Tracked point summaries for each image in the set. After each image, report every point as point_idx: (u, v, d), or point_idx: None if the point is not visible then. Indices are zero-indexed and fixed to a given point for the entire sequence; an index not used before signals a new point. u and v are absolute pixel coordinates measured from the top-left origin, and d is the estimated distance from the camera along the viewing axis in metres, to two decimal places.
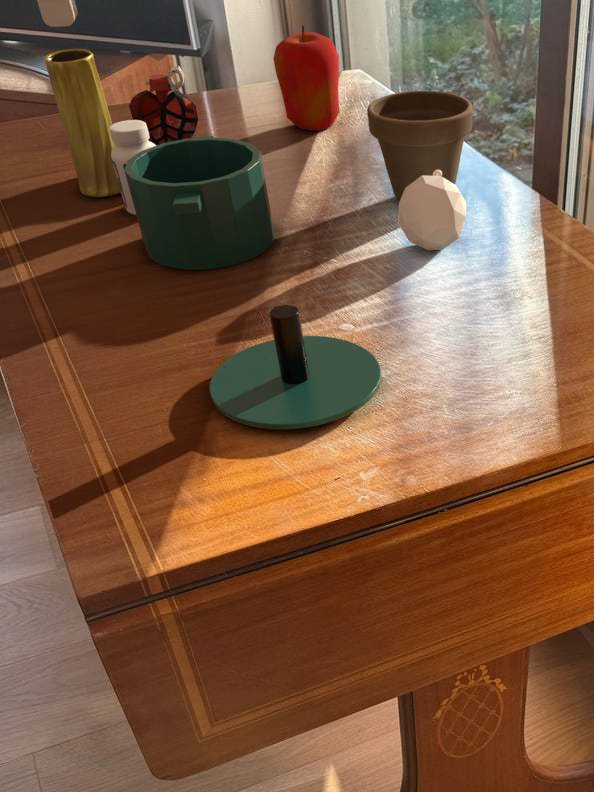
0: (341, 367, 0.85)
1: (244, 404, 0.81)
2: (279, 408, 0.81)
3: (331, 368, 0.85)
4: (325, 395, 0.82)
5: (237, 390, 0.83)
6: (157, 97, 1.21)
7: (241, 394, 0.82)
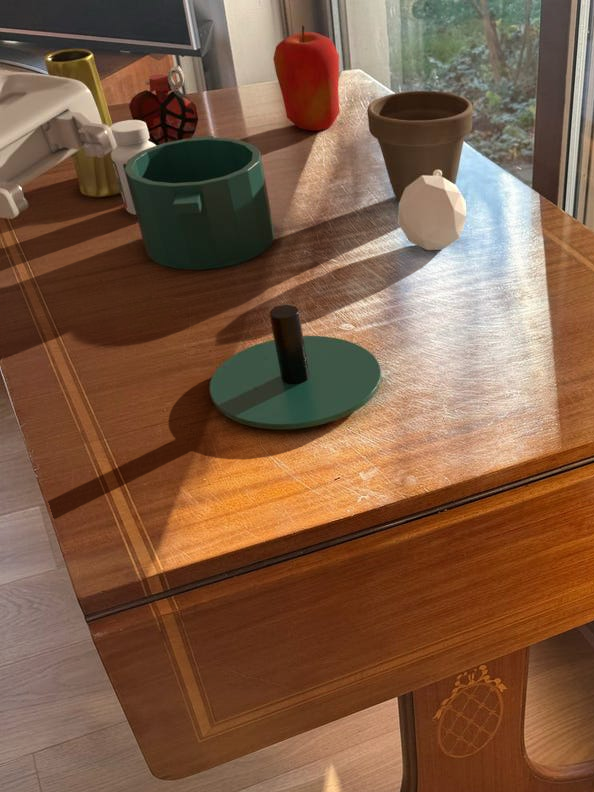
0: (341, 367, 0.85)
1: (244, 404, 0.81)
2: (279, 408, 0.81)
3: (331, 368, 0.85)
4: (325, 395, 0.82)
5: (237, 390, 0.83)
6: (157, 97, 1.21)
7: (241, 394, 0.82)
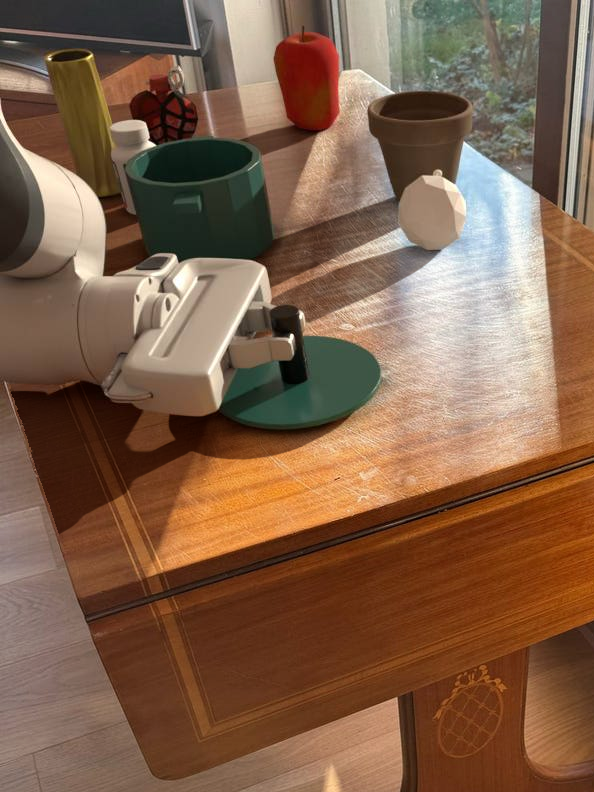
0: (341, 367, 0.85)
1: (244, 404, 0.81)
2: (279, 408, 0.81)
3: (331, 368, 0.85)
4: (325, 395, 0.82)
5: (237, 390, 0.83)
6: (157, 97, 1.21)
7: (241, 394, 0.82)
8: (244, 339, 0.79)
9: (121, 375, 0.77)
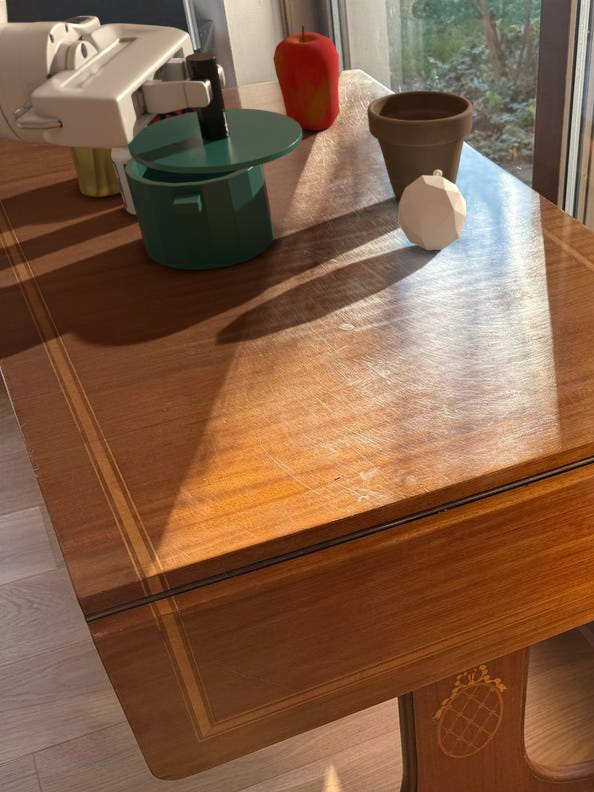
0: (262, 129, 0.85)
1: (161, 154, 0.81)
2: (195, 156, 0.80)
3: (252, 129, 0.84)
4: (243, 147, 0.81)
5: (156, 144, 0.82)
6: None
7: (159, 147, 0.82)
8: (158, 81, 0.78)
9: (32, 109, 0.76)
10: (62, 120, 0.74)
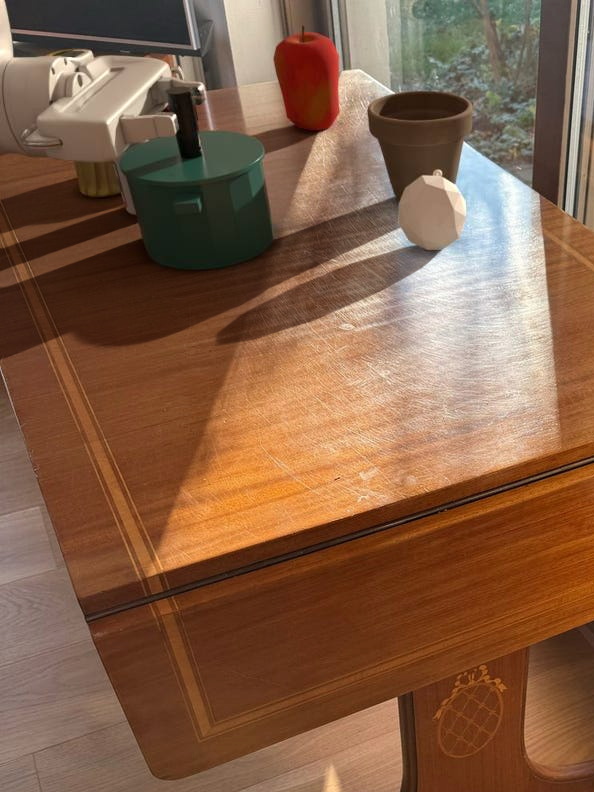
0: (231, 148, 1.01)
1: (146, 170, 0.97)
2: (175, 172, 0.97)
3: (223, 149, 1.01)
4: (214, 164, 0.98)
5: (142, 162, 0.99)
6: None
7: (145, 165, 0.99)
8: (132, 115, 0.93)
9: (37, 130, 0.92)
10: (62, 139, 0.91)
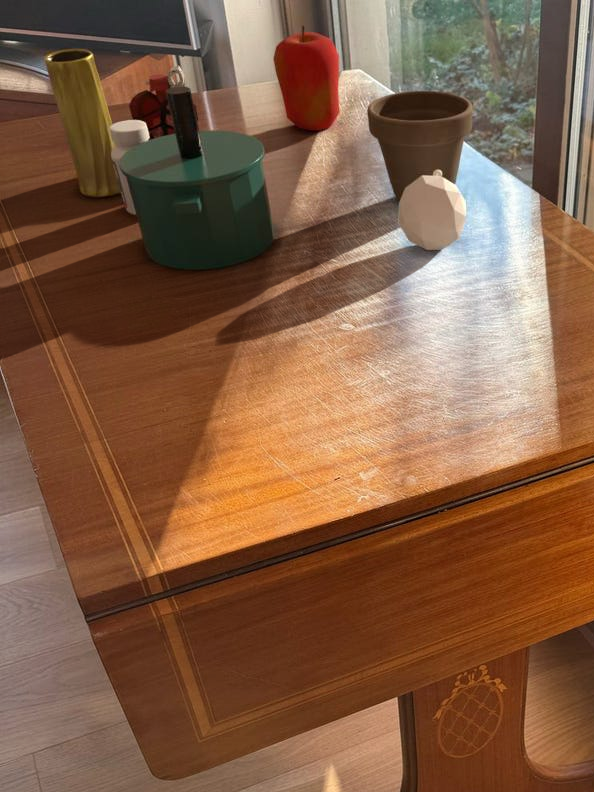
0: (231, 148, 1.01)
1: (146, 170, 0.97)
2: (175, 172, 0.97)
3: (223, 149, 1.01)
4: (214, 164, 0.98)
5: (142, 162, 0.99)
6: (157, 97, 1.21)
7: (145, 165, 0.99)
8: None
9: None
10: None
